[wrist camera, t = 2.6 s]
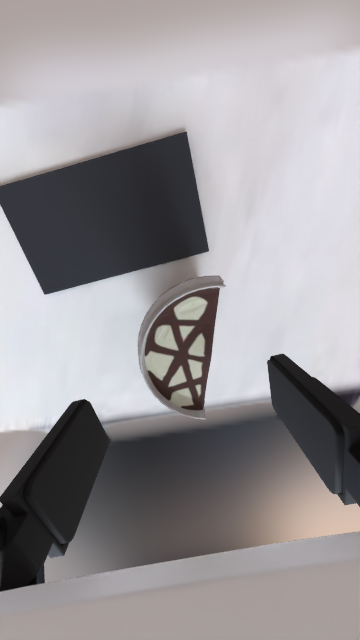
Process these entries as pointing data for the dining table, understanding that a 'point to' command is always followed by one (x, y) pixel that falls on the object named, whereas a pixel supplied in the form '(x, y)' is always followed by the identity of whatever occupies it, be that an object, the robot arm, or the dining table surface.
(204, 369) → the food container
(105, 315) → the dining table surface
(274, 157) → the dining table surface
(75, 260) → the mat
